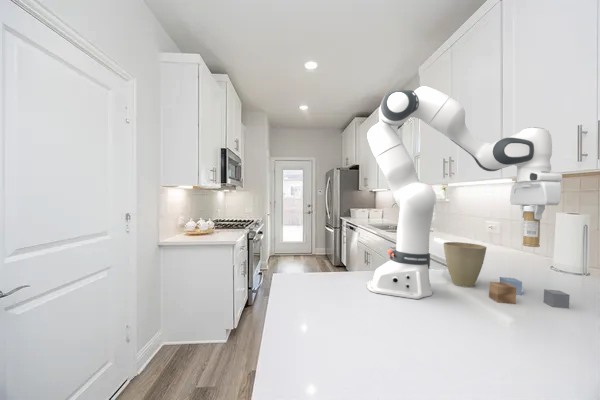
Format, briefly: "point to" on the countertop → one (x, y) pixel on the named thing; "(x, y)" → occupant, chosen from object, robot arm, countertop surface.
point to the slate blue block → (513, 284)
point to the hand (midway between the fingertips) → (531, 218)
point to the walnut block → (502, 292)
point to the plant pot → (464, 262)
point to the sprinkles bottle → (530, 227)
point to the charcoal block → (556, 298)
